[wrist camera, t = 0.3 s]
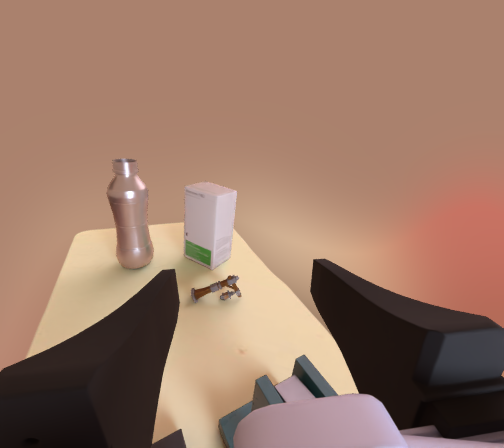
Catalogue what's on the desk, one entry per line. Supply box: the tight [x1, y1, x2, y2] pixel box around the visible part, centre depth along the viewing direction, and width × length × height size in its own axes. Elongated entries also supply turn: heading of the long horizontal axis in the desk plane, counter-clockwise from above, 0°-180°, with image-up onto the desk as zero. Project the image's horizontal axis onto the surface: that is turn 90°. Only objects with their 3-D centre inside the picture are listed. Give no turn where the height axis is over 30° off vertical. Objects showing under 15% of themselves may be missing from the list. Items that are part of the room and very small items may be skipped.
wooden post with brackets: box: [191, 275, 241, 303], centre depth 40 cm, size 2×8×4 cm, turn 99°
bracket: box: [219, 355, 338, 448], centre depth 20 cm, size 10×8×10 cm
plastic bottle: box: [107, 159, 154, 269], centre depth 44 cm, size 6×7×20 cm
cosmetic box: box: [184, 182, 237, 270], centre depth 49 cm, size 8×7×16 cm
